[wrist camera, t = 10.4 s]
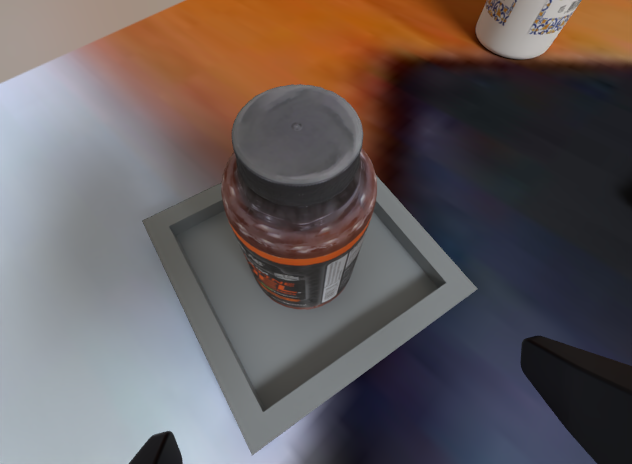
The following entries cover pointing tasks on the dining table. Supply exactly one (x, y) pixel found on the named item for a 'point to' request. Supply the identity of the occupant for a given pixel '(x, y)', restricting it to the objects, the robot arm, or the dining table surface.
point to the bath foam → (522, 25)
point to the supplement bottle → (299, 192)
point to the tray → (295, 324)
